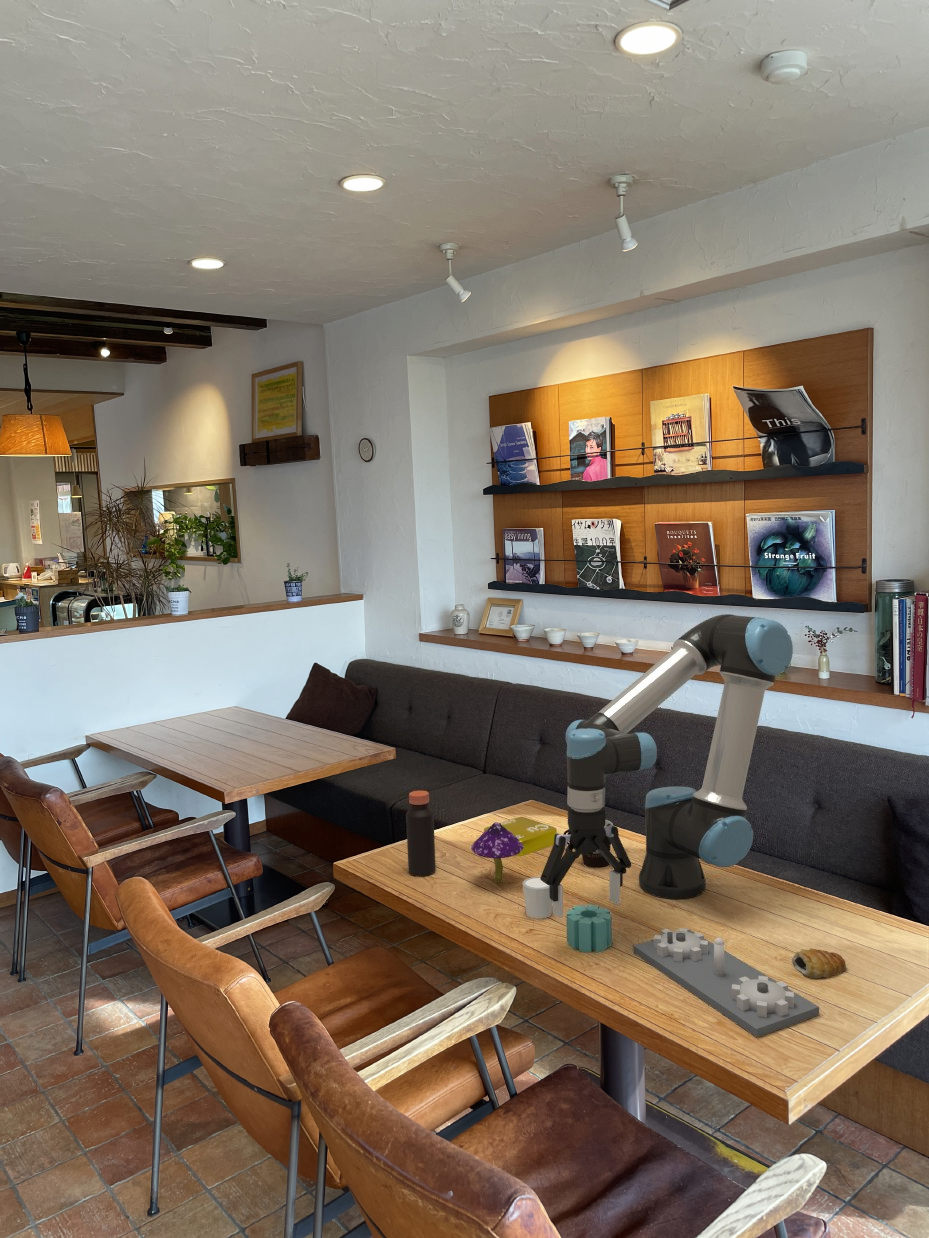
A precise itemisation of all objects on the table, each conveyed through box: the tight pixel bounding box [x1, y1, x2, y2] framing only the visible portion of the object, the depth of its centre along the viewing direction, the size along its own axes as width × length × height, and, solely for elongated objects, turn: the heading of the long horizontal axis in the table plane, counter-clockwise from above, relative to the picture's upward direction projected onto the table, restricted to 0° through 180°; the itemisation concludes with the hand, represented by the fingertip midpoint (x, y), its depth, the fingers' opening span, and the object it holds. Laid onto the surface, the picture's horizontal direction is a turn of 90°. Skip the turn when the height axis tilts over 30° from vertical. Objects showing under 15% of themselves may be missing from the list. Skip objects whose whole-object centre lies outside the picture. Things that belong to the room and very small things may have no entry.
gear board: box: [632, 927, 820, 1038], centre depth 168 cm, size 14×34×8 cm, turn 26°
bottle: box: [405, 790, 437, 877], centre depth 225 cm, size 7×7×20 cm
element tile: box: [483, 816, 558, 857], centre depth 243 cm, size 15×15×5 cm
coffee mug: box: [562, 819, 614, 869], centre depth 228 cm, size 12×9×10 cm
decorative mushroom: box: [470, 821, 524, 884], centre depth 216 cm, size 12×12×15 cm
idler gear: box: [565, 904, 613, 954], centre depth 185 cm, size 9×9×6 cm
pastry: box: [791, 948, 847, 979], centre depth 171 cm, size 9×7×4 cm
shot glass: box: [521, 876, 553, 920], centre depth 200 cm, size 7×7×7 cm
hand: (586, 908), depth 185 cm, fingers open, 13 cm apart
